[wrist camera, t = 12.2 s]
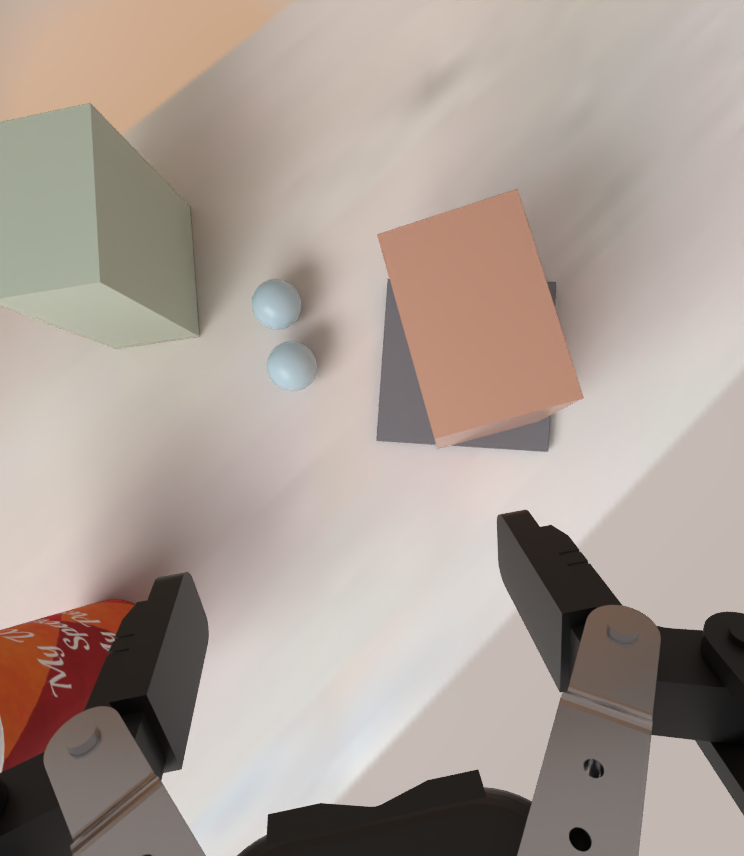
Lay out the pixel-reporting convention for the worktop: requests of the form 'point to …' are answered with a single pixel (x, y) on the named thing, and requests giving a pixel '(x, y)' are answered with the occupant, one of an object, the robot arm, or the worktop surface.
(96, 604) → the paper cup
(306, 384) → the marble
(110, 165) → the sage green block
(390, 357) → the felt coaster
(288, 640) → the worktop surface
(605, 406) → the worktop surface
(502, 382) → the salmon orange block
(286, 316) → the marble
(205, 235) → the worktop surface
